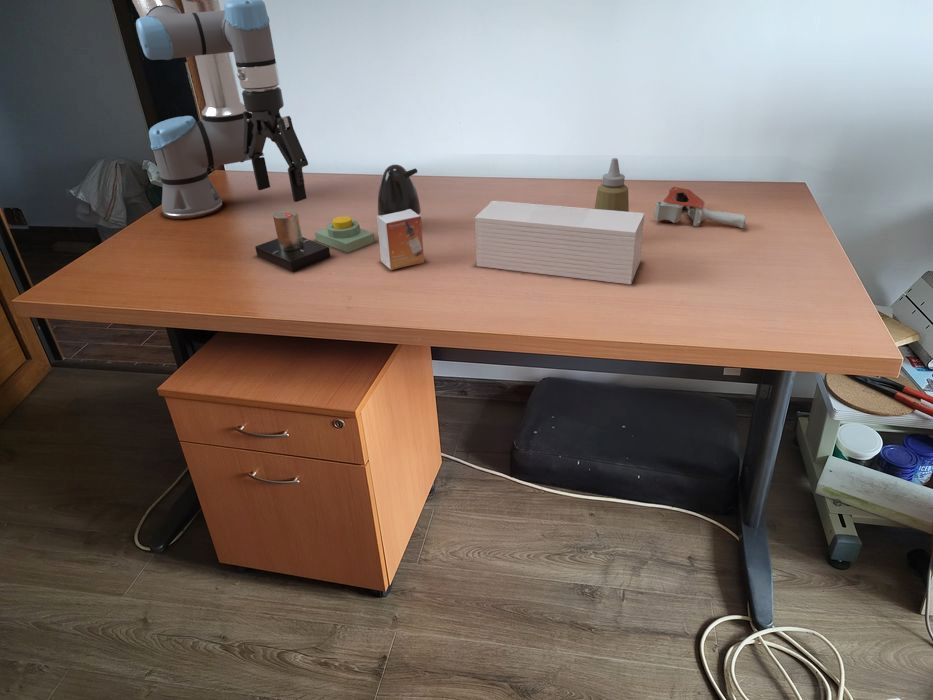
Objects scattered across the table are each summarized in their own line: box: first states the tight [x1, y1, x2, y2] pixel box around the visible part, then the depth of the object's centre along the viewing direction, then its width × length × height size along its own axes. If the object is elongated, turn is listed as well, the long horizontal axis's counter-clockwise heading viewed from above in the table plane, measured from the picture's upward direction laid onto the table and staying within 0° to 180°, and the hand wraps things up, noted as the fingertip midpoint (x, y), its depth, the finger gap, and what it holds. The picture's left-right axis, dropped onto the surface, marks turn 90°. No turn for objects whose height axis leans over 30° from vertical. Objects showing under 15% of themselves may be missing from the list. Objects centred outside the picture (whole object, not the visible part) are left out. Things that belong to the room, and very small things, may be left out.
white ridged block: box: [474, 200, 645, 285], centre depth 137 cm, size 32×11×11 cm, turn 69°
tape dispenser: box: [654, 186, 747, 229], centre depth 156 cm, size 18×5×20 cm
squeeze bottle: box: [594, 157, 630, 212], centre depth 145 cm, size 8×8×18 cm
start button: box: [332, 215, 353, 229], centre depth 154 cm, size 4×4×2 cm
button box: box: [314, 219, 376, 254], centre depth 155 cm, size 12×8×4 cm, turn 47°
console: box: [254, 236, 331, 273], centre depth 149 cm, size 14×10×3 cm
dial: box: [272, 209, 303, 251], centre depth 146 cm, size 5×5×8 cm
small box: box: [376, 209, 425, 271], centre depth 141 cm, size 8×6×10 cm
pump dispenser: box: [377, 164, 422, 216], centre depth 158 cm, size 10×10×15 cm
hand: (281, 194), depth 142 cm, fingers open, 13 cm apart
